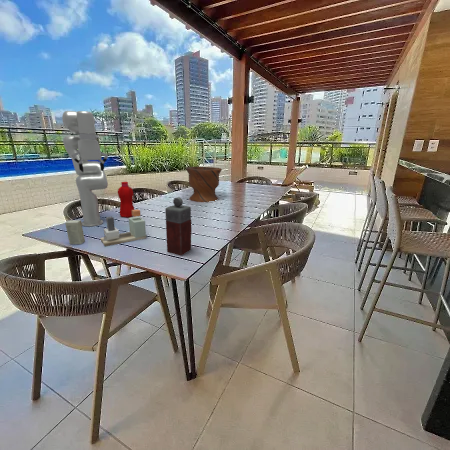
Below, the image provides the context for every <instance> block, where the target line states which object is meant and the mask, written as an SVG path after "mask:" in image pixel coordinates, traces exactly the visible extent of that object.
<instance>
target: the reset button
mask: <svg viewBox="0 0 450 450" xmlns="http://www.w3.org/2000/svg"><path fill="white" fill-rule="evenodd" d="M138 216H139V217H141V210H140V209H135V210H132V217H138Z"/></svg>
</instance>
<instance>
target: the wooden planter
mask: <svg viewBox="0 0 450 450" xmlns="http://www.w3.org/2000/svg"><path fill="white" fill-rule="evenodd" d="M185 170H186V172H187V173H188V185H189V186H190V187H191V188H192V189H193V194H192V195H191V196H189V198H188V199H189V201H191V202H195V203H210V202H209V201H214V202H216V201H215V200H217V199H218V200H219V197H218V196H217V195H216V189H217V188H218V187H219V185H220V174H221V172H222V170H223V169H222V168H221V167H214V166H212V167H211V166H188V167H185ZM218 200H217V201H218Z"/></svg>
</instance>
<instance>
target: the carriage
mask: <svg viewBox="0 0 450 450" xmlns="http://www.w3.org/2000/svg"><path fill="white" fill-rule="evenodd" d="M105 219H106V227H107V228H103V233H104V236H106V237H107V240H112V239H117V238H119V234H120V231H119V229H118V228H117V227H115V221H114V220H115V219H114V217H113V216H107V217H105Z"/></svg>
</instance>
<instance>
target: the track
mask: <svg viewBox="0 0 450 450" xmlns="http://www.w3.org/2000/svg"><path fill="white" fill-rule="evenodd" d="M99 239H100V241H101V243H102V244H103V246H104V247H109V246H115V245H120V244H124V243H130V242H134V241H138V240H139V241H140V240H143V239H147V235H146V236H142V237H137V238H135V237H134V236H133V235H132V234H131V232H130V231H127V232H122V233H120V232H119V238H117V239H112V240H107V237H106V236H105V235H104V236H103V237H100V238H99Z"/></svg>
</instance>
